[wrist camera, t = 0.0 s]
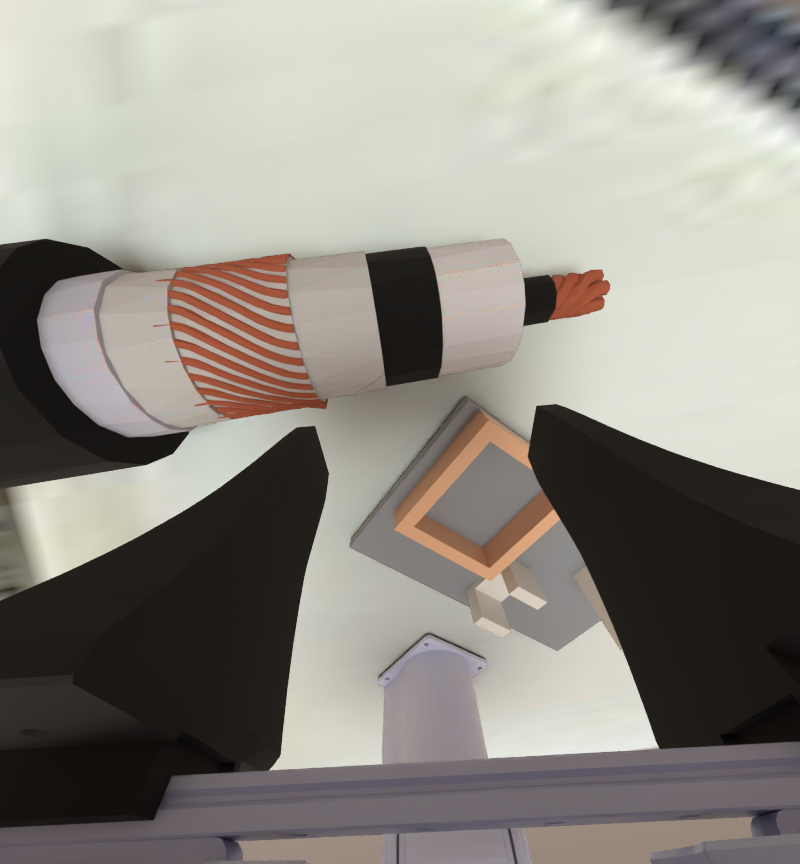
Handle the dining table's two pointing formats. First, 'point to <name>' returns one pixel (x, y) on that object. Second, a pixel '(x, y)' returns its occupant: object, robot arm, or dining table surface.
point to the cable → (239, 340)
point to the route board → (483, 535)
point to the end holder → (443, 475)
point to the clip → (502, 597)
